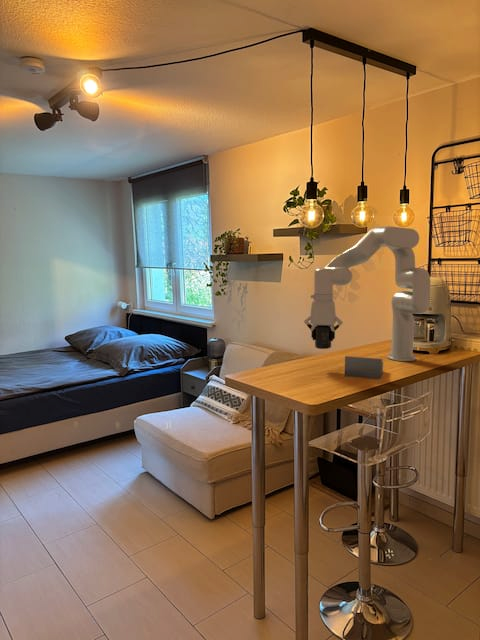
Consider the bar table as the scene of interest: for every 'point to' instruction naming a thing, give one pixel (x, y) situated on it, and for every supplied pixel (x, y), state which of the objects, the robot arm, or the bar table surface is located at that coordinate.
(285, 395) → the bar table surface
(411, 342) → the robot arm
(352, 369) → the shelf block
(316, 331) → the supplement bottle
